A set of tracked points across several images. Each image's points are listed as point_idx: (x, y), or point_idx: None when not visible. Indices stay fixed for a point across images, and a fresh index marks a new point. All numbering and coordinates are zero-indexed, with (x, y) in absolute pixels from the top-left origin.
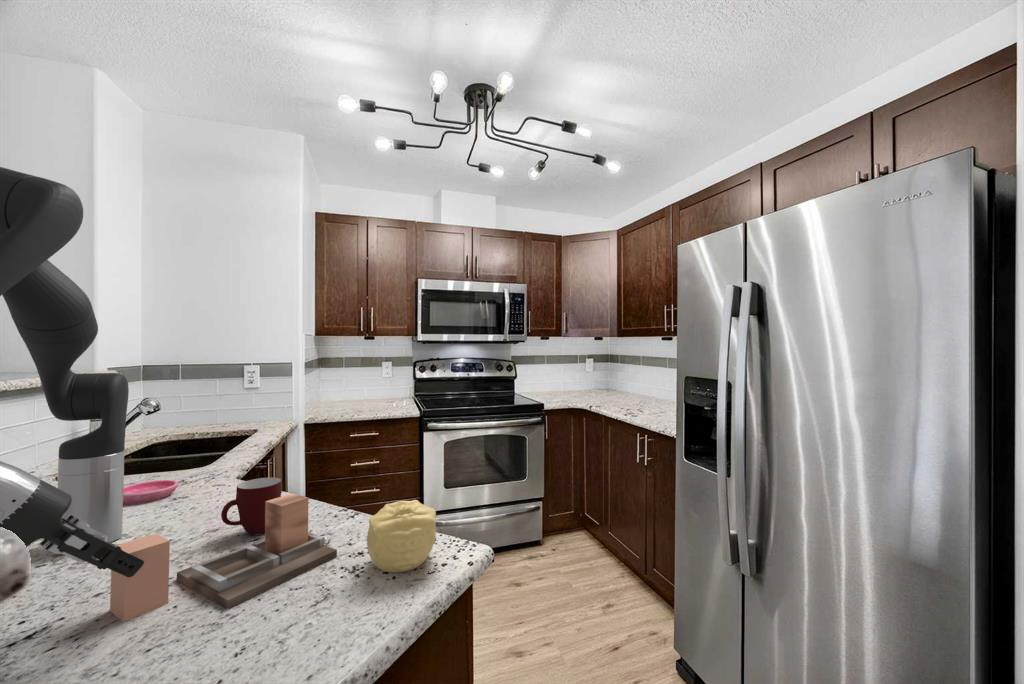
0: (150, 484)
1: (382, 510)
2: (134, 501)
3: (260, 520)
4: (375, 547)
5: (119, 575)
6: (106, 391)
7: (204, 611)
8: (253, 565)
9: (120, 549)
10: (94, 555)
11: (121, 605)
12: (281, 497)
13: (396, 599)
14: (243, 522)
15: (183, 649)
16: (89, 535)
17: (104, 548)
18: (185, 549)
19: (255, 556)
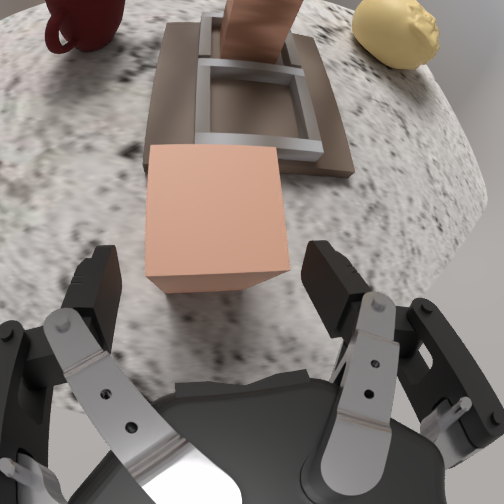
0: None
1: (420, 17)
2: None
3: (116, 21)
4: (423, 59)
5: (224, 282)
6: None
7: (326, 197)
8: (303, 98)
9: (434, 305)
10: (114, 319)
11: (231, 288)
12: None
13: (437, 107)
14: (86, 37)
15: (400, 259)
16: (492, 392)
17: (110, 290)
18: (29, 126)
19: (242, 74)
